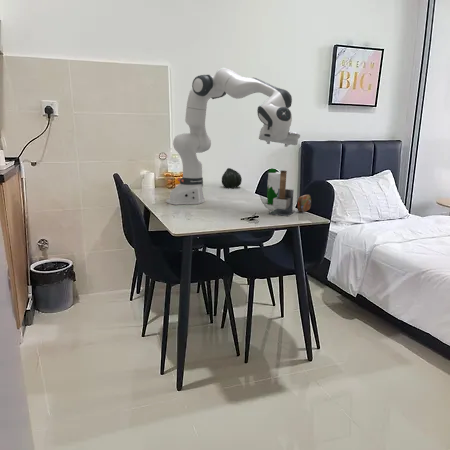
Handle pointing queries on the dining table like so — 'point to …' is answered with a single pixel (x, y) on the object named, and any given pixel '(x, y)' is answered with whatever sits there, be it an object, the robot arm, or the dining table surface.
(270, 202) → the milk carton
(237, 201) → the dining table surface
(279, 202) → the bracket
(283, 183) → the brown wooden rod
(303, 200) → the tin
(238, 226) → the dining table surface
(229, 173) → the squash
